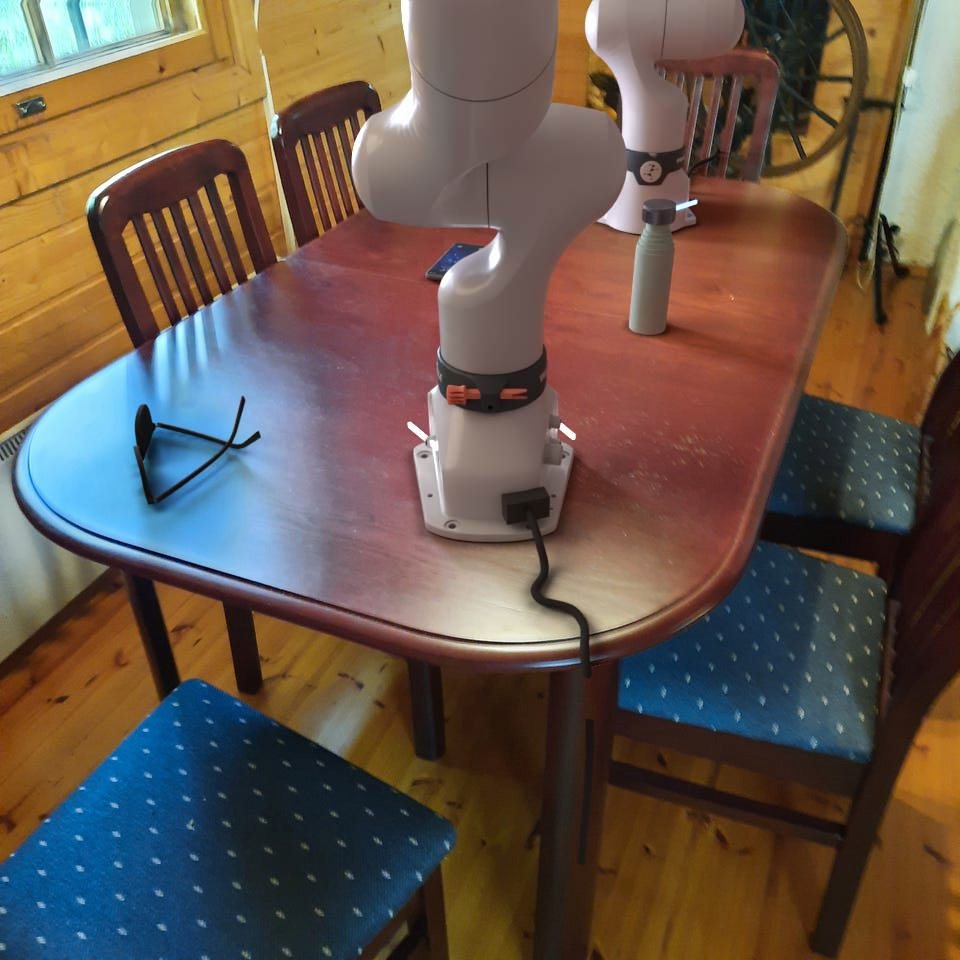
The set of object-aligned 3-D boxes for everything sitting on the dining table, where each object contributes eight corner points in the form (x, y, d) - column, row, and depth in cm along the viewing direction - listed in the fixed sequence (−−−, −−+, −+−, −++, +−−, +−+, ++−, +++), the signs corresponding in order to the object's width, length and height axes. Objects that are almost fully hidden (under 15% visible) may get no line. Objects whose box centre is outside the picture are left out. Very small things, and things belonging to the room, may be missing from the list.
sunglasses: (270, 486, 97) (262, 449, 94) (137, 510, 94) (125, 474, 91) (257, 411, 110) (250, 377, 107) (140, 430, 107) (130, 396, 104)
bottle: (672, 325, 127) (687, 205, 116) (652, 338, 124) (666, 216, 113) (641, 315, 130) (653, 197, 119) (621, 328, 127) (631, 208, 116)
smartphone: (493, 246, 151) (464, 280, 139) (493, 251, 151) (464, 285, 140) (454, 241, 153) (422, 274, 141) (454, 246, 153) (423, 279, 142)
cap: (681, 218, 117) (683, 203, 116) (663, 228, 115) (665, 212, 113) (653, 211, 120) (654, 196, 118) (635, 220, 117) (636, 205, 116)
